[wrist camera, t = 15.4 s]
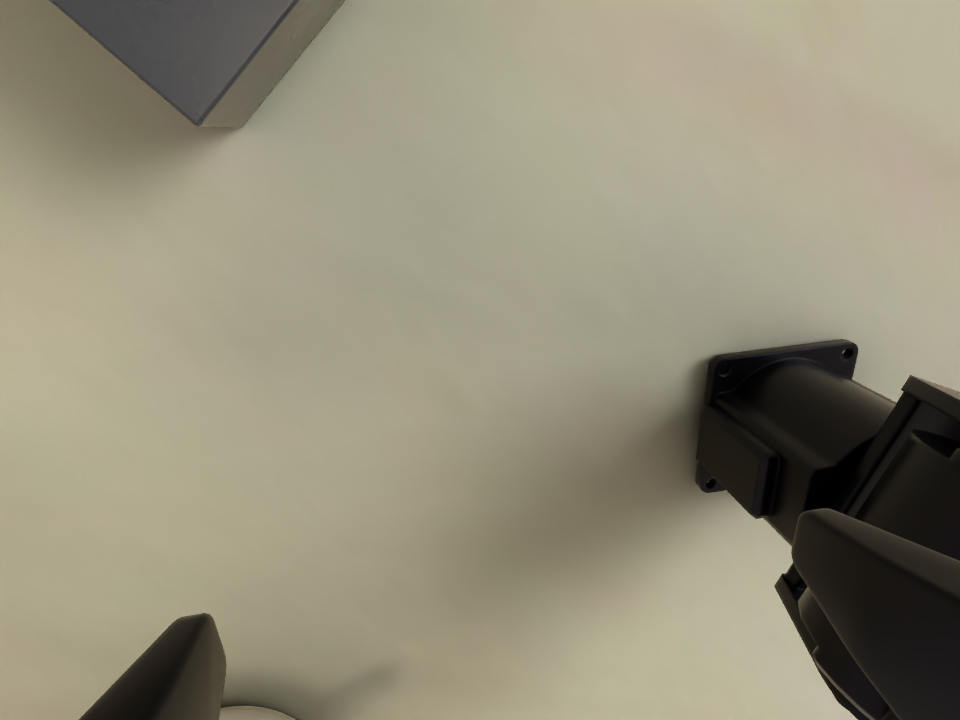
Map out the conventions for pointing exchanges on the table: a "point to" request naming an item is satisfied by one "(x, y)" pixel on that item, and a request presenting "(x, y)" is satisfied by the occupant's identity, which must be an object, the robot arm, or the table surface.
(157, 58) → the grey base
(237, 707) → the teacup
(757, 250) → the table surface
